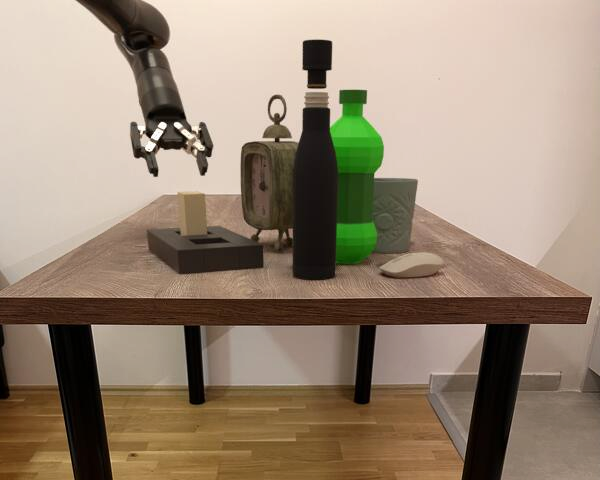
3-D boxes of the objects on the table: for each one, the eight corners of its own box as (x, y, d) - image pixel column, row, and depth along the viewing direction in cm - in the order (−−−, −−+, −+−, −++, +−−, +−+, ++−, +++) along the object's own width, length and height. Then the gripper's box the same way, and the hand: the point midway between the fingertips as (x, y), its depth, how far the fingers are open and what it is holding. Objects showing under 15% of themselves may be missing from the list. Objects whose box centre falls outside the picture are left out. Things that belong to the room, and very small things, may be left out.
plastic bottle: (386, 265, 102) (398, 89, 91) (323, 267, 100) (327, 87, 89) (368, 254, 111) (376, 92, 100) (309, 256, 109) (311, 91, 98)
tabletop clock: (242, 243, 122) (237, 95, 111) (284, 239, 126) (284, 97, 115) (274, 255, 110) (272, 92, 100) (319, 251, 114) (322, 93, 103)
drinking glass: (381, 255, 110) (385, 181, 105) (346, 247, 118) (348, 178, 113) (424, 250, 115) (430, 179, 110) (388, 243, 123) (392, 176, 118)
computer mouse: (373, 272, 98) (374, 252, 96) (429, 267, 101) (431, 248, 99) (392, 279, 93) (393, 258, 91) (450, 275, 96) (452, 254, 94)
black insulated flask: (343, 277, 94) (352, 40, 81) (306, 281, 91) (309, 36, 78) (320, 269, 99) (324, 45, 86) (284, 273, 96) (283, 42, 83)
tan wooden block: (188, 256, 109) (183, 194, 105) (181, 251, 113) (177, 191, 109) (208, 254, 111) (204, 193, 106) (201, 250, 114) (197, 191, 110)
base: (179, 274, 96) (177, 250, 94) (148, 249, 115) (146, 229, 113) (263, 267, 101) (263, 244, 99) (221, 245, 120) (220, 225, 118)
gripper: (121, 84, 111) (141, 158, 107) (201, 85, 116) (222, 156, 112) (120, 118, 118) (138, 189, 114) (195, 118, 123) (215, 186, 119)
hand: (180, 173), depth 113 cm, fingers open, 8 cm apart
